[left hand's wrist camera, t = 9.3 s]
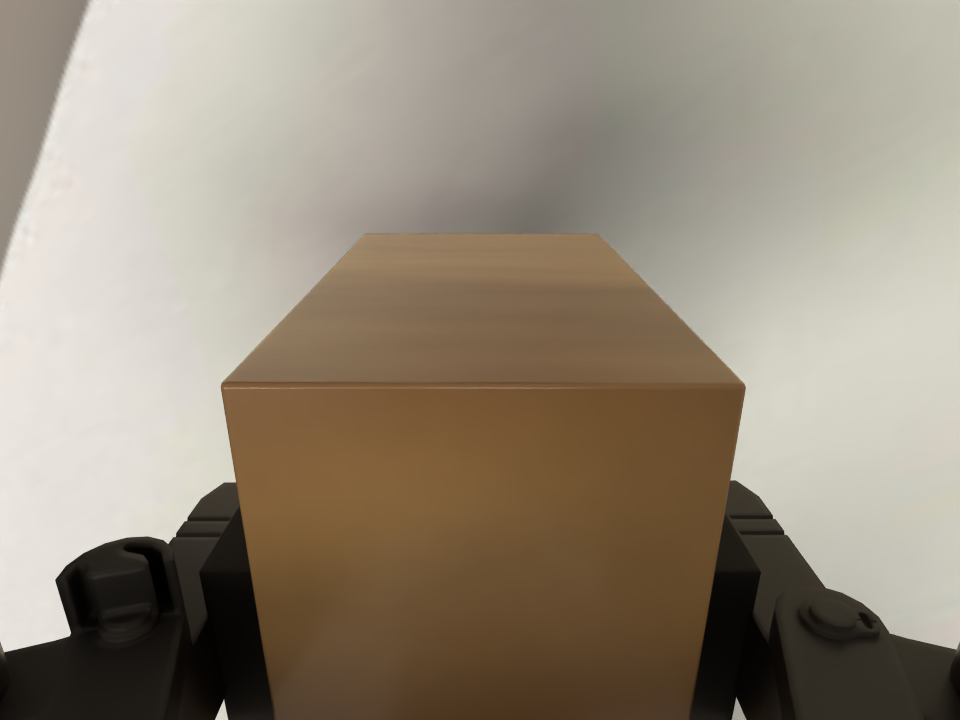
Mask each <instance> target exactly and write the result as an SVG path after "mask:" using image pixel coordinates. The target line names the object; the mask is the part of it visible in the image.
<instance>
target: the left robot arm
mask: <svg viewBox="0 0 960 720" xmlns="http://www.w3.org/2000/svg"><path fill="white" fill-rule="evenodd" d="M55 581H56V584H57V588H58V591H59V594H60V598H61V601H62V604H63V607H64V611H65V614H66V617H67V621H68V624H69V627H70V630H71V635H70V636H69V637H66V638H63V639H59V640H56V641H52V642H47V643H43V644H39V645H34V646H30V647H26V648H21V649H17V650H13V651H8V652H4V651H3V648H2V646H1V643H0V720H215V718H216V716H217V714H218V711H219V709H220V707H221V705H222V702H223V700H224V701H225V706H226V711H227V716H228V720H274V714H273V707H272V701H271V695H270V689H269V683H268V676H267V670H266V664H265V658H264V652H263V645H262V639H261V633H260V627H259V621H258V614H257V608H256V602H255V596H254V589H253V583H252V577H251V571H250V565H249V558H248V552H247V546H246V540H245V534H244V527H243V521H242V515H241V509H240V503H239V496H238V490H237V484H236V483H223V484H222V485H220V486H219V487H217V488H216V489H214V490H213V491H212V492H210V493H209V494H207V495H206V496H204V497H203V498H202V499H201V500H200V501H199V503H198V504H197V505H196V507H195V508H194V509H193V511H192V512H191V514H190V515H189V516H188V520H187V521H185V522H184V523H183V525H182V526H181V527H180V529H179V530H178V532H177V533H176V537H173V538H172V540H171V541H170V543H169V544H167V543H166V542H165V541H164V540H160V539H156V538H152V537H131V538H124V539H120V540H116V541H113V542H109V543H105V544H103V545H101V546H98V547H96V548H94V549H92V550H90V551H87V552H85V553H83V554H82V555H81V556H79V557H78V558H76V559H75V560H74V561H72V562H71V563H70V564H68V565H67V566H66V567H65V568H64V569H63V571H62V572H61V573H60V575H59V576H58V577H57V578H56V580H55ZM736 697H737V699H738V701H739V704H740V706H741V708H742V711H743V713H744V715H745V717H746V720H960V643H959V646H958V648H957V650H955V649H951V648H946V647H942V646H937V645H933V644H929V643H924V642H920V641H916V640H911V639H907V638H903V637H900V636H896V635H893V634H890V633H889V632H888V630H887V629H886V627H885V626H884V624H883V623H882V621H881V620H880V618H879V617H878V616H877V615H876V614H874V613H873V612H872V611H871V610H870V609H868V608H867V607H866V606H865V605H864V604H862V603H861V602H859V601H857V600H855V599H853V598H851V597H849V596H847V595H845V594H843V593H841V592H837V591H834V590H830V589H827V588H825V586H824V585H823V584H822V582H821V581H820V580H819V578H818V577H817V575H816V574H815V573H814V571H813V570H812V569H811V567H810V566H809V564H808V563H807V562H806V560H805V559H804V558H803V556H802V555H801V554H800V552H799V551H798V549H797V548H796V547H795V545H794V544H793V543H792V541H791V540H790V538H789V537H788V536H787V535H784V530H783V529H782V527H781V526H780V525H779V523H778V522H777V521H776V519H773V515H772V514H771V512H770V511H769V510H768V508H767V507H766V506H765V504H764V503H763V501H762V500H761V499H760V497H759V496H757V495H756V494H754V493H753V492H752V491H750V490H749V489H747V488H746V487H744V486H743V485H742V484H740V483H739V482H737V481H730V484H729V490H728V496H727V502H726V508H725V514H724V520H723V526H722V532H721V538H720V543H719V549H718V555H717V561H716V567H715V573H714V579H713V585H712V591H711V597H710V603H709V609H708V615H707V620H706V626H705V632H704V638H703V644H702V650H701V656H700V662H699V668H698V674H697V680H696V686H695V692H694V698H693V703H692V709H691V715H690V720H732V715H733V710H734V705H735V700H736Z"/></svg>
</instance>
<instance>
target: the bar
mask: <svg viewBox="0 0 960 720" xmlns="http://www.w3.org/2000/svg"><path fill="white" fill-rule="evenodd" d="M745 389H746V387H745V384H744V383H743V382H742V381H741V380H740V379H739V378H738V377H737V376H736V375H735V374H734V373H733V371H732V370H731V369H730V368H729V367H728V366H727V365H726V364H725V363H724V362H723V361H722V360H721V359H720V358H719V357H718V356H717V355H716V354H715V353H714V352H713V351H712V350H711V349H710V348H709V347H708V346H707V345H706V344H705V343H704V342H703V341H702V340H701V339H700V338H699V337H698V336H697V335H696V334H695V333H694V332H693V331H692V329H691V328H690V327H689V326H688V325H687V324H686V323H685V322H684V321H683V320H682V319H681V318H680V317H679V316H678V315H677V314H676V313H675V312H674V311H673V310H672V309H671V308H670V307H669V306H668V305H667V304H666V303H665V302H664V301H663V300H662V299H661V298H660V297H659V296H658V295H657V294H656V293H655V292H654V291H653V290H652V288H651V287H650V286H649V285H648V284H647V283H646V282H645V281H644V280H643V279H642V278H641V277H640V276H639V275H638V274H637V273H636V272H635V271H634V270H633V269H632V268H631V267H630V266H629V265H628V264H627V263H626V262H625V261H624V260H623V259H622V258H621V257H620V256H619V255H618V254H617V253H616V252H615V251H614V250H613V249H612V247H611V246H610V245H609V244H608V243H607V242H606V241H605V240H604V239H603V238H602V237H601V236H600V235H599V234H365V235H364V236H363V237H362V238H361V239H360V240H359V241H358V242H357V243H356V244H355V245H354V246H353V247H352V248H351V249H350V250H349V251H348V252H347V254H346V255H345V256H344V257H343V258H342V259H341V260H340V261H339V262H338V263H337V264H336V265H335V266H334V267H333V268H332V269H331V270H330V271H329V272H328V273H327V274H326V275H325V276H324V277H323V278H322V279H321V281H320V282H319V283H318V284H317V285H316V286H315V287H314V288H313V289H312V290H311V291H310V292H309V293H308V294H307V295H306V296H305V297H304V298H303V299H302V300H301V301H300V302H299V303H298V304H297V305H296V306H295V308H294V309H293V310H292V311H291V312H290V313H289V314H288V315H287V316H286V317H285V318H284V319H283V320H282V321H281V322H280V323H279V324H278V325H277V326H276V327H275V328H274V329H273V330H272V331H271V332H270V333H269V335H268V336H267V337H266V338H265V339H264V340H263V341H262V342H261V343H260V344H259V345H258V346H257V347H256V348H255V349H254V350H253V351H252V352H251V353H250V354H249V355H248V356H247V357H246V358H245V359H244V361H243V362H242V363H241V364H240V365H239V366H238V367H237V368H236V369H235V370H234V371H233V372H232V373H231V374H230V375H229V376H228V377H227V378H226V379H225V380H224V381H223V382H222V385H221V391H222V397H223V403H224V410H225V416H226V422H227V428H228V434H229V441H230V447H231V453H232V459H233V465H234V472H235V478H236V484H237V490H238V496H239V503H240V509H241V515H242V521H243V527H244V534H245V540H246V546H247V552H248V558H249V565H250V571H251V577H252V583H253V589H254V596H255V602H256V608H257V614H258V621H259V627H260V633H261V639H262V645H263V652H264V658H265V664H266V670H267V676H268V683H269V689H270V695H271V701H272V707H273V714H274V720H690V715H691V709H692V703H693V698H694V692H695V686H696V680H697V674H698V668H699V662H700V656H701V650H702V644H703V638H704V632H705V626H706V620H707V615H708V609H709V603H710V597H711V591H712V585H713V579H714V573H715V567H716V561H717V555H718V549H719V543H720V538H721V532H722V526H723V520H724V514H725V508H726V502H727V496H728V490H729V484H730V478H731V472H732V466H733V461H734V455H735V449H736V443H737V437H738V431H739V425H740V419H741V413H742V407H743V401H744V395H745Z"/></svg>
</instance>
